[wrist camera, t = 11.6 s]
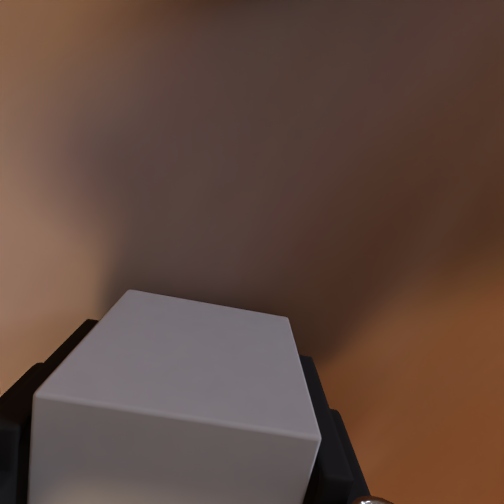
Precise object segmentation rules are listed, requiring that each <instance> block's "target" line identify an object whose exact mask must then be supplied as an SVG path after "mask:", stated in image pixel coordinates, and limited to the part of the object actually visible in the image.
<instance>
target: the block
mask: <svg viewBox="0 0 504 504" xmlns="http://www.w3.org/2000/svg"><path fill="white" fill-rule="evenodd" d="M320 442H321V434H320V431H319V427H318V423H317V420H316V416H315V413H314V409H313V405H312V402H311V398H310V395H309V391H308V388H307V384H306V380H305V377H304V373H303V370H302V366H301V362H300V359H299V355H298V352H297V348H296V344H295V341H294V337H293V334H292V330H291V326H290V323H289V319H288V318H287V317H283V316H277V315H271V314H266V313H260V312H254V311H249V310H243V309H238V308H232V307H226V306H221V305H215V304H209V303H204V302H198V301H193V300H187V299H181V298H176V297H170V296H164V295H159V294H153V293H147V292H142V291H136V290H131V289H129V290H127V291H126V292H125V293H124V294H123V296H122V297H121V298H120V299H119V300H118V301H117V302H116V303H115V304H114V305H113V306H112V308H111V309H110V310H109V311H108V312H107V313H106V314H105V315H104V316H103V317H102V319H101V320H100V321H99V322H98V323H97V324H96V325H95V326H94V327H93V328H92V330H91V331H90V332H89V333H88V334H87V335H86V336H85V337H84V338H83V339H82V341H81V342H80V343H79V344H78V345H77V346H76V347H75V348H74V349H73V350H72V352H71V353H70V354H69V355H68V356H67V357H66V358H65V359H64V360H63V361H62V363H61V364H60V365H59V366H58V367H57V368H56V369H55V370H54V371H53V372H52V374H51V375H50V376H49V377H48V378H47V379H46V380H45V381H44V382H43V383H42V385H41V386H40V387H39V388H38V389H37V390H36V391H35V393H34V394H33V404H32V422H31V440H30V458H29V476H28V494H27V504H302V503H303V500H304V496H305V493H306V490H307V486H308V483H309V479H310V476H311V473H312V469H313V466H314V463H315V459H316V456H317V452H318V449H319V446H320Z"/></svg>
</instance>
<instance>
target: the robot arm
mask: <svg viewBox="0 0 504 504" xmlns="http://www.w3.org/2000/svg"><path fill="white" fill-rule="evenodd" d="M98 322H99V321H97V320H91V319H87V320H86V321H85V322H84V323H83V324H82V325H81V326H80V327H79V328H78V329H77V330H76V331H75V332H74V333H73V334H72V335H71V336H70V337H69V338H68V339H67V340H66V341H65V342H64V343H63V344H62V345H61V346H60V347H59V348H58V349H57V350H56V351H55V352H54V353H53V354H52V355H51V356H50V357H49V358H48V359H47V360H46V361H45V362H44V363H36V364H35V365H34V366H32V367H31V368H30V369H29V370H28V371H27V372H26V373H25V374H24V375H23V376H22V377H21V378H20V379H19V380H18V381H17V382H16V383H15V384H14V385H13V386H12V387H10V388H9V389H8V390H7V391H6V392H5V393H4V394H3V395H2V396H1V397H0V504H27V494H28V476H29V458H30V440H31V422H32V404H33V394H34V393H35V391H36V390H37V389H38V388H39V387H40V386H41V385H42V383H43V382H44V381H45V380H46V379H47V378H48V377H49V376H50V375H51V374H52V372H53V371H54V370H55V369H56V368H57V367H58V366H59V365H60V364H61V363H62V361H63V360H64V359H65V358H66V357H67V356H68V355H69V354H70V353H71V352H72V350H73V349H74V348H75V347H76V346H77V345H78V344H79V343H80V342H81V341H82V339H83V338H84V337H85V336H86V335H87V334H88V333H89V332H90V331H91V330H92V328H93V327H94V326H95V325H96V324H97V323H98ZM299 359H300V362H301V366H302V370H303V373H304V377H305V380H306V384H307V388H308V391H309V395H310V398H311V402H312V405H313V409H314V413H315V416H316V420H317V423H318V427H319V431H320V434H321V442H320V446H319V449H318V452H317V456H316V459H315V463H314V466H313V469H312V473H311V476H310V479H309V483H308V486H307V490H306V493H305V496H304V500H303V503H302V504H394V503H392V502H389V501H387V500H385V499H383V498H380V497H375V496H371V495H370V492H369V489H368V487H367V484H366V482H365V479H364V476H363V474H362V471H361V468H360V466H359V463H358V460H357V458H356V455H355V452H354V450H353V447H352V444H351V442H350V439H349V436H348V434H347V431H346V429H345V426H344V423H343V421H342V418H341V415H340V414H339V412H338V411H337V410H334V409H330V408H329V405H328V403H327V400H326V397H325V394H324V391H323V388H322V385H321V382H320V379H319V376H318V373H317V371H316V368H315V365H314V362H313V359H312V357H308V356H303V355H299Z"/></svg>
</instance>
